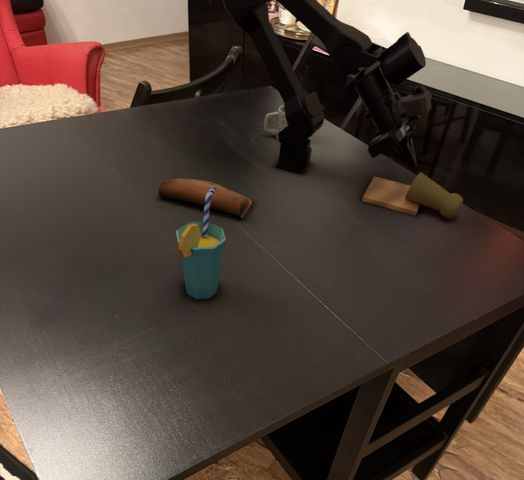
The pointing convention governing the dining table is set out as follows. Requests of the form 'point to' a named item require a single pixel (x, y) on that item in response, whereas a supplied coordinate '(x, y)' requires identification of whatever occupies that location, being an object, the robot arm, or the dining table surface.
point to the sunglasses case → (197, 194)
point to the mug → (280, 121)
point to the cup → (201, 254)
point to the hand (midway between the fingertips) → (414, 167)
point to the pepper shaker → (434, 196)
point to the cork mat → (390, 196)
